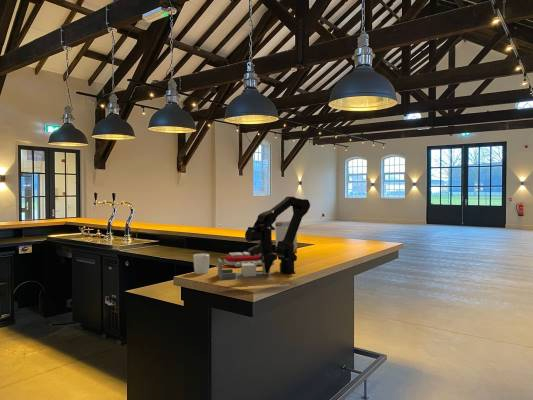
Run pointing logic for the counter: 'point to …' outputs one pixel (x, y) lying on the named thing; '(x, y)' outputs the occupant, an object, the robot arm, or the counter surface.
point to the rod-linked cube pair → (251, 269)
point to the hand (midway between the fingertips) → (266, 272)
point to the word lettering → (242, 259)
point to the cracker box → (284, 233)
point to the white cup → (201, 263)
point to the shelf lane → (236, 274)
